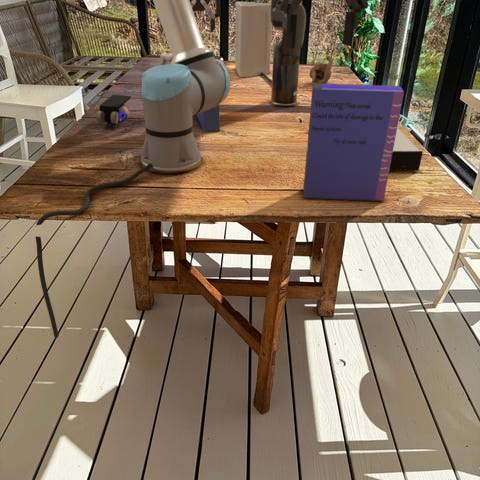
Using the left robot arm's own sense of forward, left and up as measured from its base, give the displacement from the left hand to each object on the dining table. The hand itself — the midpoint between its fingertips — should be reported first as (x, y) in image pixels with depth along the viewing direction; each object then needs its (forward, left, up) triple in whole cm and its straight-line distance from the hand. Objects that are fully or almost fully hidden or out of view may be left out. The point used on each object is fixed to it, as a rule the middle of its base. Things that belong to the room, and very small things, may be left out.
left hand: (319, 46), depth 103 cm
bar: (+38, +36, -30) cm, 60 cm away
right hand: (+47, +40, -5) cm, 62 cm away
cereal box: (-11, -9, -30) cm, 33 cm away
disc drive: (+17, -16, -30) cm, 38 cm away
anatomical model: (+95, +2, -30) cm, 100 cm away
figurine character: (+26, +62, -30) cm, 74 cm away
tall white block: (+112, +33, -30) cm, 120 cm away
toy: (+114, +62, -30) cm, 133 cm away
